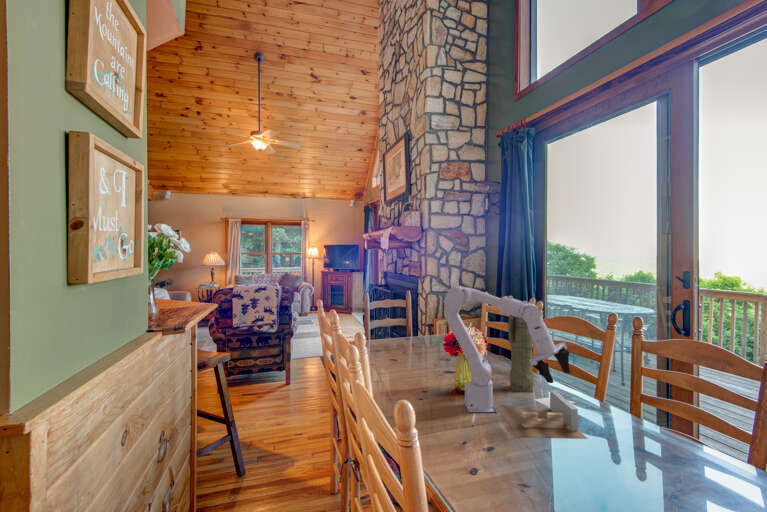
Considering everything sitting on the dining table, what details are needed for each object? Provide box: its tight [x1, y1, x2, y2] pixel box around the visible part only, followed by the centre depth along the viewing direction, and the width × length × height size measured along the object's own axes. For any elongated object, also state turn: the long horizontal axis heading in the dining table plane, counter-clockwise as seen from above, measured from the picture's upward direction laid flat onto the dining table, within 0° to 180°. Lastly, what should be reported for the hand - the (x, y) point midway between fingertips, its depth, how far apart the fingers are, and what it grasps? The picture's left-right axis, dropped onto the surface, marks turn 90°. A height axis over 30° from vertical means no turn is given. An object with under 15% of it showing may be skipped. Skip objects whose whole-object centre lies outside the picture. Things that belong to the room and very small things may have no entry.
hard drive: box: [533, 397, 576, 409], centre depth 127 cm, size 2×8×12 cm
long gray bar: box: [549, 389, 579, 431], centre depth 113 cm, size 2×15×6 cm, turn 177°
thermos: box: [507, 315, 535, 394], centre depth 141 cm, size 9×12×35 cm
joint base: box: [497, 407, 588, 440], centre depth 111 cm, size 20×20×5 cm
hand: (559, 377), depth 116 cm, fingers open, 7 cm apart
